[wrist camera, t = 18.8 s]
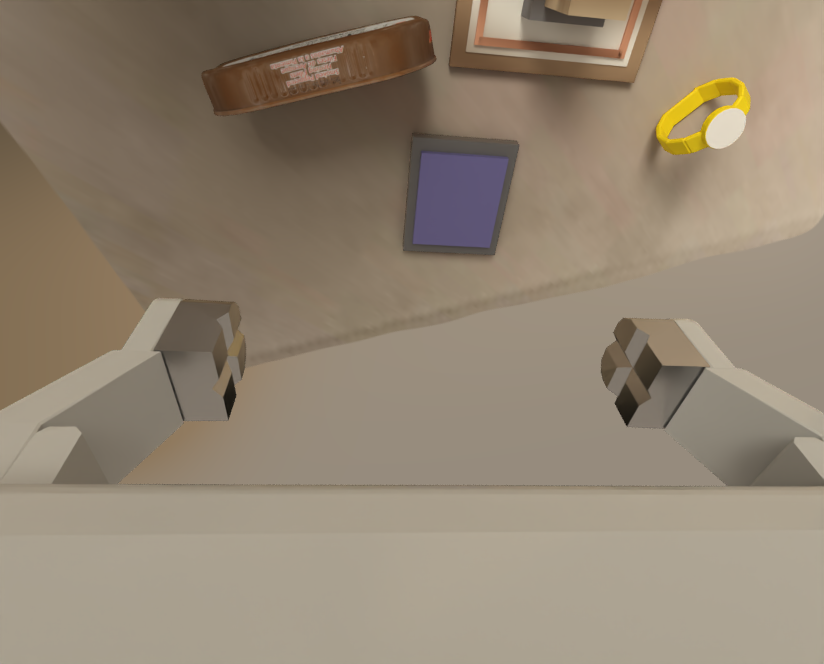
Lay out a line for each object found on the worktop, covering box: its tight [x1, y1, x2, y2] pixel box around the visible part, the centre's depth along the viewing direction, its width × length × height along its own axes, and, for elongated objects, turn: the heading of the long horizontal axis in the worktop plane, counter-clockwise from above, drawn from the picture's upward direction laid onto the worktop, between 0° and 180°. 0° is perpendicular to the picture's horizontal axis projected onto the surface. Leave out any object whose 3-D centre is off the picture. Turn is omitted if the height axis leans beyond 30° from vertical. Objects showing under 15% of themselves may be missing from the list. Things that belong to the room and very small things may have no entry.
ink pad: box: [403, 133, 519, 255], centre depth 41 cm, size 10×8×2 cm
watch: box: [656, 78, 750, 155], centre depth 35 cm, size 6×3×6 cm, turn 135°
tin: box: [201, 16, 436, 116], centre depth 31 cm, size 15×3×8 cm, turn 101°
